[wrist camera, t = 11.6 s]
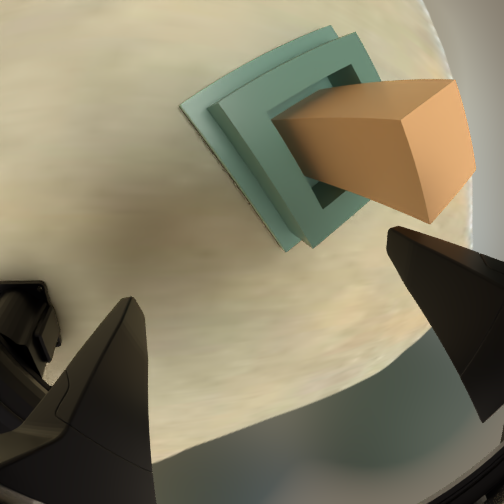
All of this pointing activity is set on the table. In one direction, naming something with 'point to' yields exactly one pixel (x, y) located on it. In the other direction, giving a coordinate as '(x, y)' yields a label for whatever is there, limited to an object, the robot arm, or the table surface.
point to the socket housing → (268, 138)
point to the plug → (385, 142)
